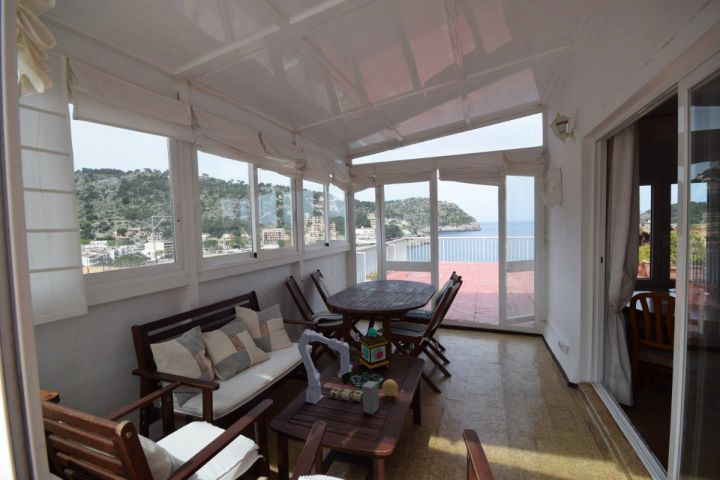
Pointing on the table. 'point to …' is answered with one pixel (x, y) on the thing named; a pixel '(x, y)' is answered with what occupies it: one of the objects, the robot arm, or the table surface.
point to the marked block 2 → (357, 395)
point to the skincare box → (370, 397)
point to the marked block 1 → (335, 392)
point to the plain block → (346, 394)
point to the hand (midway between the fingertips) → (346, 383)
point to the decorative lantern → (373, 350)
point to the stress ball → (390, 387)
